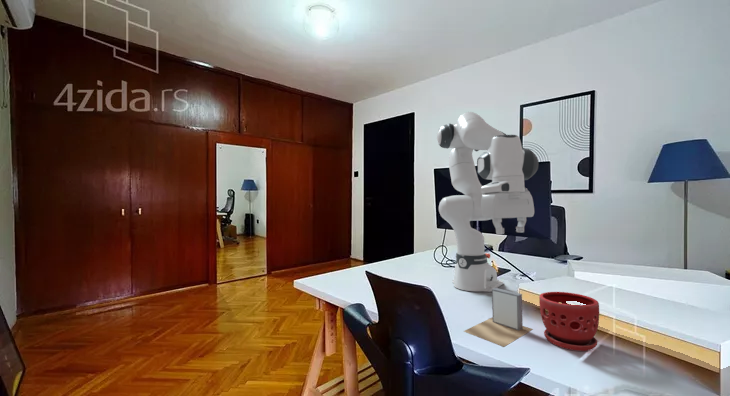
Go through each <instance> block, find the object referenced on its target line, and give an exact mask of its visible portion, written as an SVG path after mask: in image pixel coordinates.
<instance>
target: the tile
mask: <svg viewBox="0 0 730 396" xmlns="http://www.w3.org/2000/svg"><path fill="white" fill-rule="evenodd" d="M491 296H492V297H491V299H492V300H491V302H492V317H493V322H494V323H497V324H500V325H503V326H506V327H509V328H512V329H515V330H518V331H520V330H521V329H523V326H524V325H523V323H524V322H523V294H522V293H520V292H514V291H510V290H506V289H504V288H503V289H502V288H499V287H498V288H494V289H492V292H491Z"/></svg>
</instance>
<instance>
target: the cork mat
mask: <svg viewBox="0 0 730 396" xmlns="http://www.w3.org/2000/svg"><path fill="white" fill-rule="evenodd" d="M532 330H534V329H533V328H531V327H527V326H524V325H523V329H521V330H520V331H518V330H515V329H512V328H509V327H506V326H503V325H500V324H497V323H494V322H493V316H492V317H490V318H488V319H486V320H483V321H481V322H480V323H478V324H476V325H474V326H471V327H469V328H467V329H465V330H463V332H464V333H466V334H469V335H472V336H474V337H477V338H480V339H482V340H484V341H487V342H489V343H491V344H495V345H498V346H500V347H502V348H505V347H506V346H508V345H510V344H511V343H513V342H515V341H516V340H519V338H521V337H523V336H525V335H526V334H528V333H529V332H531V331H532Z"/></svg>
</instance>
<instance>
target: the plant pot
mask: <svg viewBox="0 0 730 396" xmlns="http://www.w3.org/2000/svg"><path fill="white" fill-rule="evenodd" d="M538 296H539V297H538V298H539V300H538V301H539V311H540V312H539V313H540V316H541V320H542V323H543V325H544V327H545V330H544V331H543V334H544V337H545V339H546V340H547V341H548V342H550V343H551V344H553V345H554V346H557V347H560V348H562V349H565V350H570V351H576V352H586V351H591V350H594V349H595V348H596V347H597V346H598V340H597V338H596V337H595V335H596V333H597V331H598V328H599V323H600V303H599V301H598V300H597V299H595V298H594V297H591V296H587V295H584V294H579V293H573V292H567V291H566V292H565V291H547V292H543V293H541V294H539V295H538ZM566 301H577V302H580V303H583V304H586V305H581V304H580V305H571V304H570V305H569V304H567V303H566ZM546 310H547V313H548V314H547V313H546Z"/></svg>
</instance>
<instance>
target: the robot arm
mask: <svg viewBox="0 0 730 396" xmlns="http://www.w3.org/2000/svg"><path fill="white" fill-rule="evenodd" d="M436 134H437V135H436V139H437V143H438V145H439V147H440V148H441V149H451V150H450V152H449V154H448V155H449V156H448V167H449V174H450V179H451V180H450V181H451V185H452V186H453V188H454V190H456V191H457V192H459V193H462V194H463V195H460V194H458V195H457V194H456V195H449V196H445V197H442V199H441V200H440V201H439V205H438V212H439V214H440V215H439V216H440V217H441V218H442V220H444V221H446V222H447V223H448V224H449V225H450V226H451V228H452V230H453V231H454V234H455V240H456V254H455V258H456V259H455V261H456V262H457V263H455V265H454V275H453V279H452V284H453V286H454V287H455V288H456V289H459V290H462V291H467V292H487V293H488V292H489V293H492V289H494V288H498V289H499V288H500V287H501V286H503V285H504V281H502V280H500V279H498V272H497V270H496V268H495V267H493V266H492V265H491V264H490V263H489V262H488V259H491V253H487V252H486V253H485V251H486V250H485V237H484V233H482V232H481V231H479V230H477V229H476V228H473V227H472V226H471V222H473V221H474V222H475V221H480V222H481V221H489V220H490V221H491V220H492V224H493V226H494V228H495V233H496V234H497V235H504V234H505V227H503V225H502V223H503V219H515V218H516V219H517V226H515V229H516V230H515V232H516V233H525V226H526V223H527V218H532V217H534V215H535V206H534V204H535V203H534V199H533V196H532V194H531V192H530V191H529V190H528V188H526V187H525V181H528V180H529V179H530V178H532V177H533V176H534V175H536V173H537V171H538V170H539V159H538V157H537V155H536V154H535V152H533V151H532V150H531V149H529V148H525V147H523V145H522V141H521V139H520V137H519V136H518V135H517V134H506V133H504V132H503V131H501V130H499V129H496V128H495V127H493V126H492V125H490V124H489V123H487V122H486V120H485V119H484V118H483V117H481V116H480V115H479V114H477V113H476V112H474V111H466V112H464V113H462V114H460V116H459V117H457V121H456V123H451V122H450V123H447V124H443V125H441V126H440V127H439V128H438V132H437V133H436ZM474 151H475V152H479V151H484V152H482V153H481V154H480V155H479V156H478V157H477V162H476V165H475V162H474V158H473V152H474ZM476 169H477V170H476ZM478 175H479V176H480V177H481V178H482V179H484V180H487V181H488V180H491V182H489V183H487V184H485V185H482V183H481V182H480V180H479V177H478Z"/></svg>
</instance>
